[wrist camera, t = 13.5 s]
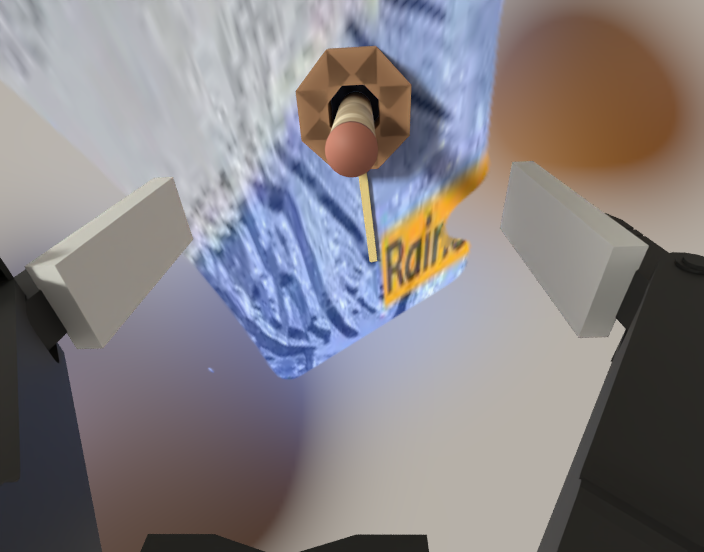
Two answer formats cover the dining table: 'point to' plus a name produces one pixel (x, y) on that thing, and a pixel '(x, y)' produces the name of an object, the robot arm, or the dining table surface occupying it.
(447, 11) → the dining table surface
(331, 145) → the needle dowel
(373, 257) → the pale yellow wooden rod
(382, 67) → the walnut bead
